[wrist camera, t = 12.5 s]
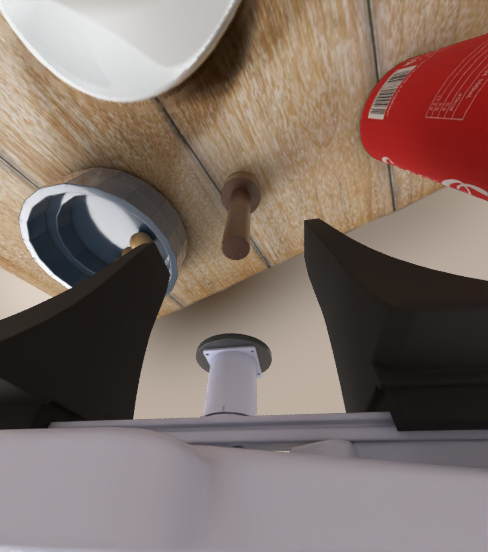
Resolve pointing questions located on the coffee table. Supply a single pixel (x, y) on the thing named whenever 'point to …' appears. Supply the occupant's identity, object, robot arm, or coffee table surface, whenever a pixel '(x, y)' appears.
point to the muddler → (239, 213)
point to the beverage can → (434, 116)
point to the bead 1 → (126, 250)
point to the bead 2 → (139, 239)
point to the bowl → (98, 224)
